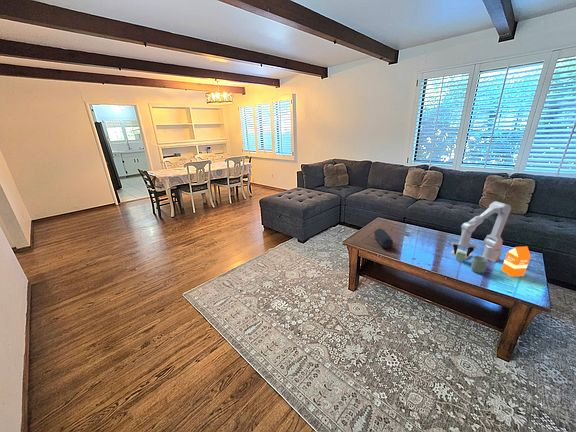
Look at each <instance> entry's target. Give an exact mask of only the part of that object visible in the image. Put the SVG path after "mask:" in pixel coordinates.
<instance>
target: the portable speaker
mask: <svg viewBox="0 0 576 432" xmlns="http://www.w3.org/2000/svg"><path fill="white" fill-rule="evenodd" d="M373 234H374V238H375V239H376V240H377V242H378V243H379V245H380V246H381V247H382V248H384V249H389V248H392V246H393V244H394V239H392V237H391V236H390V235H389V234H388V233H387V232H386V230H385V229H382V228H376V229H375V230H374V232H373Z"/></svg>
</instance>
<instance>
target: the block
mask: <svg viewBox="0 0 576 432" xmlns="http://www.w3.org/2000/svg"><path fill="white" fill-rule="evenodd" d="M465 255H466V253H463V252H458V253H457V256H455V261H457V262H460V263H462V262H464V261H465V260H466V259H465Z"/></svg>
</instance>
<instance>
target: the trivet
mask: <svg viewBox="0 0 576 432" xmlns="http://www.w3.org/2000/svg"><path fill="white" fill-rule="evenodd" d="M458 252H463V253H466V254H467V251H466V250H462V249H460V248H458V249H457V252H456V255H455V254H454V249H453V250H452V251H450V255H452V256H455V257H456V256H457V253H458ZM472 255H473V254H472V252H471V253H470V254H469V256H468V257H467V256H466V255H465V259H464V260H466V259H468V258H470V257H472Z"/></svg>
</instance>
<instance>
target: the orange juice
mask: <svg viewBox="0 0 576 432" xmlns="http://www.w3.org/2000/svg"><path fill="white" fill-rule="evenodd" d="M530 259H531V254H530V250H529V247H528V246H515V247H513V248H512V249H510V250H507V252H506V255H505V258H504V260H503V264H502V266H501V271H502V272H503V273H505V274H507V275H508V276H510V277H524V276H525V273H526V270H527V268H528V265H529V263H530Z"/></svg>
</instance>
